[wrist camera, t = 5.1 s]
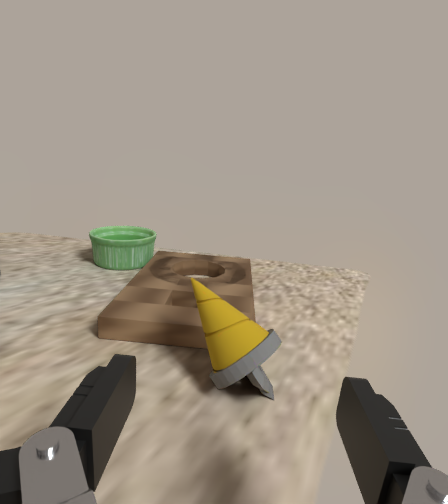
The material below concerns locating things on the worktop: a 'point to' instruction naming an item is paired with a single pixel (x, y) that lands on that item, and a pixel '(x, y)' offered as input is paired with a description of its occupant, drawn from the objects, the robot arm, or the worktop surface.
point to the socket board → (175, 299)
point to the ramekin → (122, 247)
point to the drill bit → (234, 342)
